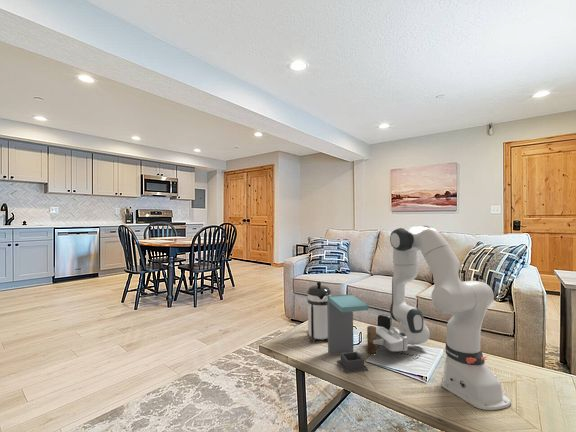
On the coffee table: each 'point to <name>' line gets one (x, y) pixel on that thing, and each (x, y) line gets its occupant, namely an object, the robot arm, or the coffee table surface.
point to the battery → (384, 321)
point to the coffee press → (318, 312)
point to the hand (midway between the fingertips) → (370, 339)
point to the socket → (351, 362)
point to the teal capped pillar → (342, 322)
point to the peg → (371, 335)
